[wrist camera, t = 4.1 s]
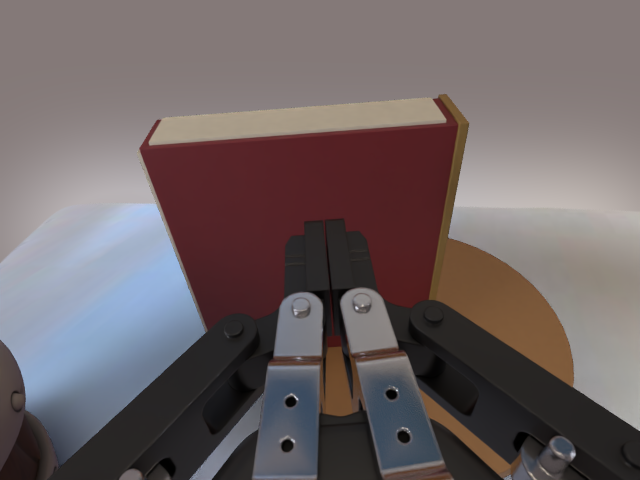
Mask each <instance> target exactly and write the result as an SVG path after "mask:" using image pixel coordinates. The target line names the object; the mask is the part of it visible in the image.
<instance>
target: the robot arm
mask: <svg viewBox="0 0 640 480" xmlns="http://www.w3.org/2000/svg"><path fill="white" fill-rule="evenodd" d="M325 234H326V244H325ZM325 234H324V223H323V220H315V221H304V235H296V236H291V237H290V238H289V240H288V242H287V243H286V245H285V275H284V299H283V301H282V302H281V305H280V306H279V308H278V309H277V310H275V311H274V312H273V313H271V314H269V315H267V316H264V317H261V318H259V319H256V320H254V319H253V318H252V317H251V316H249V315H247V314H242V313H235V314H231V315H228V316H225V317H224V318H222V319H221V320H219V321H218V322H217V323H216V324H215V325H214V326H213V327H212V328H211V329H209V330H208V331H207V332H206V333H205V334H204V335H203V336H202V337H201V338H200V339H199V340H198V341H196V342H195V343H194V344H193V345H192V346H191V347H190V348H189V349H188V350H187V351H186V352H185V353H183V354H182V355H181V356H180V357H179V358H178V359H177V360H176V361H175V362H174V363H173V364H171V365H170V366H169V367H168V368H167V369H166V370H165V371H164V372H163V373H162V374H161V375H160V376H158V377H157V378H156V379H155V380H154V381H153V382H152V383H151V384H150V385H149V386H148V387H147V388H145V389H144V390H143V391H142V392H141V393H140V394H139V395H138V396H137V397H136V398H135V399H134V400H132V401H131V402H130V403H129V404H128V405H127V406H126V407H125V408H124V409H123V410H122V411H120V412H119V413H118V414H117V415H116V416H115V417H114V418H113V419H112V420H111V421H110V422H109V423H107V424H106V425H105V426H104V427H103V428H102V429H101V430H100V431H99V432H98V433H97V434H96V435H94V436H93V437H92V438H91V439H90V440H89V441H88V442H87V443H86V444H85V445H84V446H83V447H81V448H80V449H79V450H78V451H77V452H76V453H75V454H74V455H73V456H72V457H71V458H70V459H68V460H67V461H66V462H65V463H64V464H63V465H62V466H61V467H60V468H59V469H58V470H56V471H55V472H54V473H53V474H52V475H51V476H50V477H49V478H48V479H47V480H189V479H190V478H191V477H192V476H193V474H194V473H195V472H196V471H197V470H198V468H199V467H200V466H201V465H202V464H203V463H204V461H205V460H206V459H207V458H208V457H209V456H210V454H211V453H212V452H213V451H214V450H215V448H216V447H217V446H218V445H219V444H220V443H221V441H222V440H223V439H224V438H225V437H226V435H227V434H228V433H229V432H230V431H231V430H232V428H233V427H234V426H235V425H236V424H237V423H238V421H239V420H240V419H241V418H242V417H243V415H244V414H245V413H246V412H247V411H248V410H249V408H250V407H251V406H252V405H253V404H254V403H255V401H256V400H257V399H258V398H259V397H260V395H261V394H262V393H263V392H264V395H263V403H262V410H261V417H260V424H259V429H258V430H257V431H255V432H253V433H252V434H251V435H249V436H248V437H247V438H246V439H244V440H243V441H242V442H241V443H240V444H239V445H238V446H237V448H236V449H235V450H234V451H233V453H232V454H231V455H230V457H229V458H228V459H227V461H226V462H225V463H224V464H223V466H222V467H221V468H220V470H219V471H218V472H217V474H216V475H215V476H214V478H213V479H212V480H504V479H503V478H501V477H500V476H499V475H498V474H497V473H496V472H495V471H494V470H493V469H492V468H491V467H490V466H488V465H487V464H486V463H485V462H484V461H483V460H482V459H481V458H480V457H479V456H478V455H477V454H475V453H474V452H473V451H472V450H471V449H470V448H469V447H468V446H467V445H466V444H465V443H464V442H462V441H461V440H460V439H459V438H458V437H457V436H456V435H455V434H454V433H453V432H451V431H450V430H449V429H448V428H446V427H445V426H443V425H442V424H440V423H439V422H437V421H435V420H433V419H431V418H429V416H428V413H427V410H426V408H425V405H424V402H423V399H422V396H421V393H420V390H419V389H421V390H422V391H423V392H424V393H425V394H427V395H428V396H429V397H430V398H431V399H433V400H434V401H435V402H436V403H437V404H438V405H440V406H441V407H442V408H443V409H444V410H446V411H447V412H448V413H449V414H450V415H452V416H453V417H454V418H455V419H456V420H457V421H459V422H460V423H461V424H462V425H463V426H465V427H466V428H467V429H468V430H469V431H470V432H472V433H473V434H474V435H475V436H476V437H478V438H479V439H480V440H481V441H482V442H484V443H485V444H486V445H487V446H488V447H489V448H491V449H492V450H493V451H494V452H495V453H497V454H498V455H499V456H500V457H501V458H503V459H504V460H505V461H506V462H507V463H508V464H510V465H511V477H512V480H640V431H638V430H637V429H635V428H634V427H632V426H631V425H629V424H628V423H626V422H625V421H623V420H622V419H620V418H619V417H617V416H616V415H614V414H612V413H611V412H609V411H608V410H606V409H605V408H603V407H602V406H600V405H599V404H597V403H596V402H594V401H593V400H591V399H590V398H588V397H587V396H585V395H584V394H582V393H580V392H579V391H577V390H576V389H574V388H573V387H571V386H570V385H568V384H567V383H565V382H564V381H562V380H561V379H559V378H558V377H556V376H555V375H553V374H551V373H550V372H548V371H547V370H545V369H544V368H542V367H541V366H539V365H538V364H536V363H535V362H533V361H532V360H530V359H529V358H527V357H526V356H524V355H523V354H521V353H519V352H518V351H516V350H515V349H513V348H512V347H510V346H509V345H507V344H506V343H504V342H503V341H501V340H500V339H498V338H497V337H495V336H494V335H492V334H490V333H489V332H487V331H486V330H484V329H483V328H481V327H480V326H478V325H477V324H475V323H474V322H472V321H471V320H469V319H468V318H466V317H465V316H463V315H461V314H460V313H458V312H457V311H455V310H454V309H452V308H451V307H449V306H448V305H446V304H444V303H442V302H440V301H436V300H423V301H420V302H418V303H416V304H415V305H414V306H413V307H412V308H408V307H403V306H398V305H395V304H392V303H390V302H388V301H387V300H385V299H384V298H383V297H382V296H381V295H380V293H379V291H378V289H377V284H376V280H375V275H374V270H373V266H372V261H371V257H370V252H369V248H368V243H367V239H366V238H365V237H364V236H363V235H362V234H361V232H360V231H349V232H346V227H345V221H344V218H342V219H328V220H325ZM326 252H327V254H326ZM330 296H331V301H330ZM331 307H332V317H333V327H334V336H341V345H342V359H343V364H344V369H345V374H346V379H347V384H348V389H349V394H350V399H351V405H352V412H353V413H352V414H349V415H346V416H335V415H329V414H326V364H327V357H326V355H327V351H328V343H327V337H330V336H332V319H331Z"/></svg>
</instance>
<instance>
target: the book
mask: <svg viewBox="0 0 640 480" xmlns="http://www.w3.org/2000/svg"><path fill="white" fill-rule="evenodd" d="M468 127H469V122H468V121H467V120H466V119H465V117H464V116H463V115H462V113H461V112H460V111H459V110H458V108H457V107H456V106H455V104H454V103H453V102H452V101H451V99H450V98H449V97H448V96H447V95H446V94H443V95H439V96H438V98H437V99H432V98H417V99H404V100H392V101H378V102H366V103H353V104H340V105H326V106H313V107H299V108H287V109H274V110H260V111H247V112H233V113H221V114H208V115H195V116H181V117H169V118H163V119H161V120H157V121H156V123H155V124H154V126H153V127H152V129H151V130H150V132H149V134H148V135H147V137H146V139H145V140H144V142H143V144H142V145H141V147H140V149H139V150H138V152H137V155H138V157H139V160H140V163H141V165H142V168H143V170H144V173H145V175H146V178H147V181H148V183H149V186H150V188H151V191H152V194H153V196H154V199H155V202H156V204H157V207H158V209H159V212H160V215H161V217H162V220H163V222H164V225H165V228H166V230H167V233H168V235H169V238H170V241H171V243H172V246H173V248H174V251H175V254H176V256H177V259H178V261H179V264H180V267H181V269H182V272H183V274H184V277H185V280H186V282H187V285H188V287H189V290H190V293H191V295H192V298H193V300H194V303H195V306H196V308H197V311H198V313H199V316H200V319H201V321H202V324H203V326H204V329H205V332H207V331H208V330H209V329H211V328H212V327H213V326H214V325H215V324H216V323H217V322H218V321H219V320H221V319H222V318H224V317H225V316H228V315H231V314H235V313H242V314H247V315H249V316H251V317H252V318H253V319H254V320H256V319H259V318H261V317H264V316H267V315H269V314H271V313H273V312H274V311H275V310H277V309H278V308H279V306H280V305H281V302H282V301H283V299H284V275H285V245H286V243H287V242H288V240H289V238H290V237H291V236H296V235H304V221H315V220H323V223H324V234H325V220H328V219H342V218H344V221H345V227H346V232H349V231H360V232H361V234H362V235H363V236H364V237H365V238H366V239H367V243H368V248H369V252H370V257H371V261H372V266H373V270H374V275H375V280H376V284H377V289H378V291H379V293H380V295H381V296H382V297H383V298H384V299H385V300H387V301H388V302H390V303H392V304H395V305H398V306H403V307H408V308H412V307H413V306H414V305H415V304H416V303H418V302H420V301H423V300H436V301H440V302H442V303H444V304H446V305H448V306H449V307H451V308H452V309H454V310H455V311H457V312H458V313H460V314H461V315H463V316H465V317H466V318H468V319H469V320H471V321H472V322H474V323H475V324H477V325H478V326H480V327H481V328H483V329H484V330H486V331H487V332H489V333H490V334H492V335H494V336H495V337H497V338H498V339H500V340H501V341H503V342H504V343H506V344H507V345H509V346H510V347H512V348H513V349H515V350H516V351H518V352H519V353H521V354H523V355H524V356H526V357H527V358H529V359H530V360H532V361H533V362H535V363H536V364H538V365H539V366H541V367H542V368H544V369H545V370H547V371H548V372H550V373H551V374H553V375H555V376H556V377H558V378H559V379H561V380H562V381H564V382H565V383H567V384H568V385H570V386H571V387H573V382H574V372H573V359H572V354H571V350H570V345H569V342H568V339H567V336H566V334H565V331H564V329H563V326H562V325H561V323H560V321H559V319H558V317H557V315H556V314H555V312H554V310H553V309H552V308H551V306H550V305H549V303H548V302H547V301H546V299H545V298H544V297H543V296H542V295H541V294H540V292H539V291H538V290H537V289H536V288H535V287H534V286H533V285H532V284H531V283H530V282H529V281H528V280H526V279H525V278H524V277H523V276H522V275H521V274H520V273H518V272H517V271H516V270H514V269H513V268H511V267H510V266H509V265H507V264H506V263H504V262H503V261H501V260H499V259H498V258H496V257H494V256H492V255H491V254H489V253H486V252H484V251H482V250H480V249H478V248H476V247H473V246H471V245H468V244H466V243H463V242H460V241H457V240H453V239H450V238H448V233H449V228H450V223H451V217H452V212H453V207H454V201H455V195H456V190H457V185H458V180H459V174H460V169H461V164H462V159H463V154H464V148H465V143H466V138H467V133H468ZM325 244H326V234H325ZM326 254H327V252H326ZM330 301H331V296H330ZM331 319H332V336H330V337H327V343H328V351H327V355H326V357H327V364H326V414H329V415H335V416H346V415H349V414H352V413H353V412H352V405H351V399H350V394H349V389H348V384H347V379H346V374H345V369H344V364H343V359H342V345H341V336H334V327H333V317H332V307H331ZM419 390H420V393H421V396H422V399H423V402H424V405H425V408H426V410H427V413H428V416H429V418H431V419H433V420H435V421H437V422H439V423H440V424H442V425H443V426H445V427H446V428H448V429H449V430H450V431H451V432H453V433H454V434H455V435H456V436H457V437H458V438H459V439H460V440H461V441H462V442H464V443H465V444H466V445H467V446H468V447H469V448H470V449H471V450H472V451H473V452H474V453H475V454H477V455H478V456H479V457H480V458H481V459H482V460H483V461H484V462H485V463H486V464H487V465H488V466H490V467H491V468H492V469H493V470H494V471H495V472H496V473H497V474H498V475H499V476H500V477H501V478H504V477H506V476H508V475H510V474H511V465H510V464H508V463H507V462H506V461H505V460H504V459H503V458H501V457H500V456H499V455H498V454H497V453H495V452H494V451H493V450H492V449H491V448H489V447H488V446H487V445H486V444H485V443H484V442H482V441H481V440H480V439H479V438H478V437H476V436H475V435H474V434H473V433H472V432H470V431H469V430H468V429H467V428H466V427H465V426H463V425H462V424H461V423H460V422H459V421H457V420H456V419H455V418H454V417H453V416H452V415H450V414H449V413H448V412H447V411H446V410H444V409H443V408H442V407H441V406H440V405H438V404H437V403H436V402H435V401H434V400H433V399H431V398H430V397H429V396H428V395H427V394H425V393H424V392H423V391H422V390H421V389H419Z"/></svg>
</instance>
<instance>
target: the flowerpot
mask: <svg viewBox="0 0 640 480" xmlns="http://www.w3.org/2000/svg"><path fill="white" fill-rule="evenodd" d="M25 402H26V398H25V387H24V382H23V378H22V375H21V371H20V369H19V366H18V364H17V362H16V360H15V358H14V356H13V355H12V353H11V352H10V350H9V349H8V348H7V346H6V345H5V344H4V343H3V342H2V341H1V340H0V480H47V479H48V478H49V477H50V476H51V475H52V474H53V473H54V472H55V471H56V470H58V469H59V467H58V460H57V457H56V453H55V450H54V447H53V445H52V442H51V440H50V437H49V435H48V433H47V431H46V429H45V428H44V426H43V425H42V424H41V422H40V421H39V420H38V419H37V418H36V417H35V416H34V415H32V414H31V413H30V412H28V411H26V410H25Z"/></svg>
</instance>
